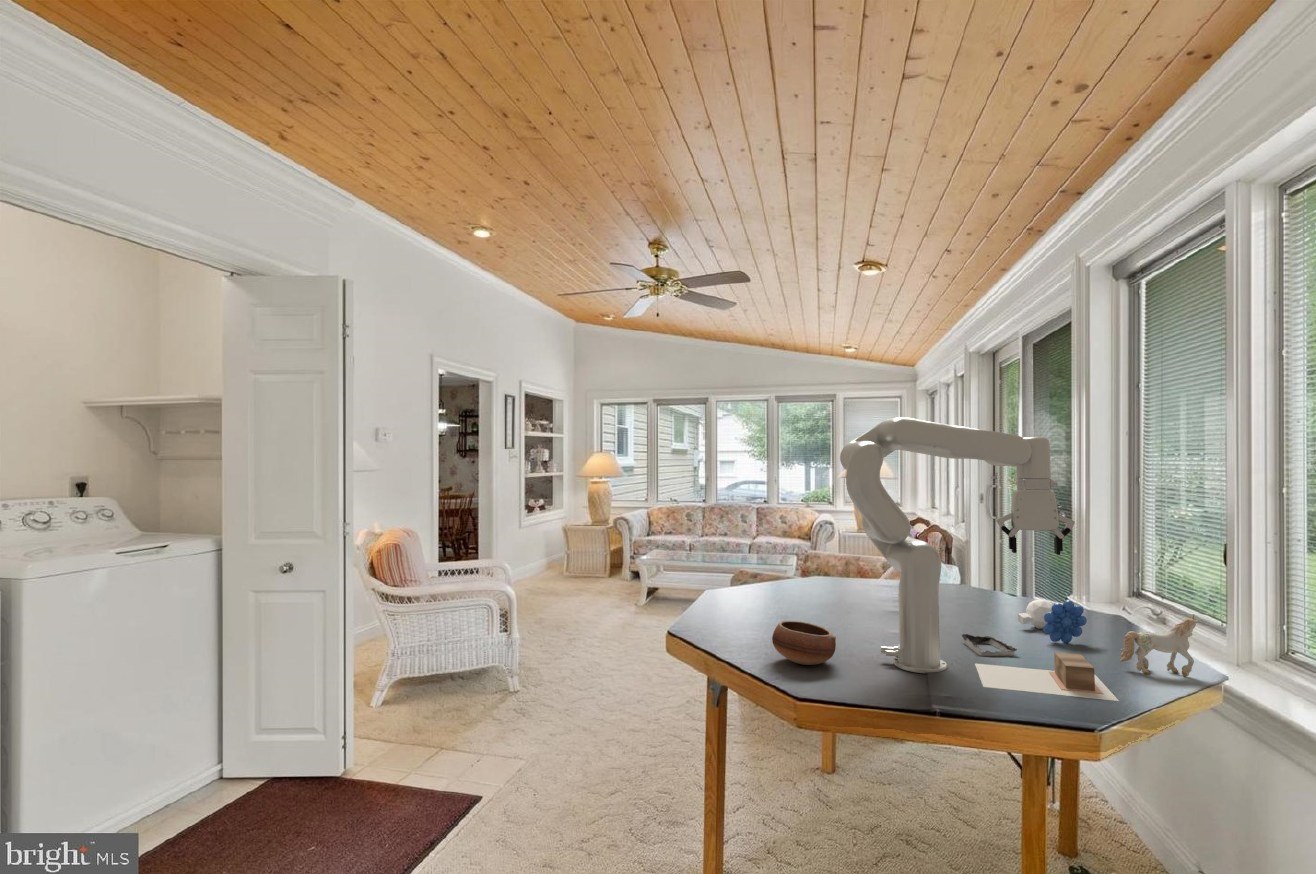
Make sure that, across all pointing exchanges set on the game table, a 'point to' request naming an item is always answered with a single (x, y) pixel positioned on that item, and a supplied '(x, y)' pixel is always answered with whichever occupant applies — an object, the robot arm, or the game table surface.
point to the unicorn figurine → (1161, 645)
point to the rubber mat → (1036, 682)
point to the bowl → (803, 642)
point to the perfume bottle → (1036, 613)
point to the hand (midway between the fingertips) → (1035, 553)
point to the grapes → (1064, 621)
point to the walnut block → (1074, 671)
